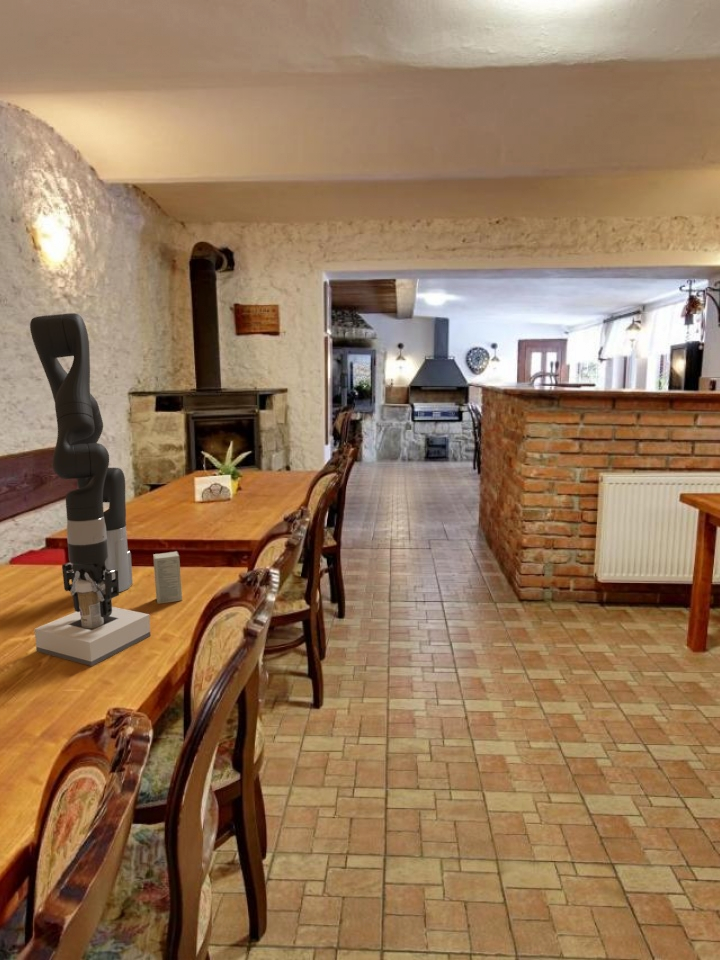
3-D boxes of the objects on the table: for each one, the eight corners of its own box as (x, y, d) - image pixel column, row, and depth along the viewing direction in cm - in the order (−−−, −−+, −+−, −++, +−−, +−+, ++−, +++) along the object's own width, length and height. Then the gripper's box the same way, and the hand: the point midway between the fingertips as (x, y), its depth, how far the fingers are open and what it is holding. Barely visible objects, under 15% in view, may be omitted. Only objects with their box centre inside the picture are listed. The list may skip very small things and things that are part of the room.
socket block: (98, 623, 141) (96, 603, 140) (150, 635, 134) (149, 614, 133) (36, 651, 127) (34, 628, 126) (91, 666, 120) (89, 642, 119)
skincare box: (180, 595, 159) (178, 550, 157) (182, 601, 155) (180, 555, 153) (155, 598, 157) (152, 553, 155) (156, 604, 153) (154, 558, 151)
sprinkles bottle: (79, 639, 130) (70, 580, 127) (99, 631, 133) (92, 574, 130) (89, 645, 127) (81, 585, 124) (110, 637, 130) (102, 578, 127)
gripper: (126, 538, 127) (131, 612, 130) (77, 531, 133) (83, 602, 136) (97, 547, 120) (103, 625, 123) (47, 539, 126) (54, 614, 129)
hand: (92, 613), depth 129 cm, fingers open, 7 cm apart
